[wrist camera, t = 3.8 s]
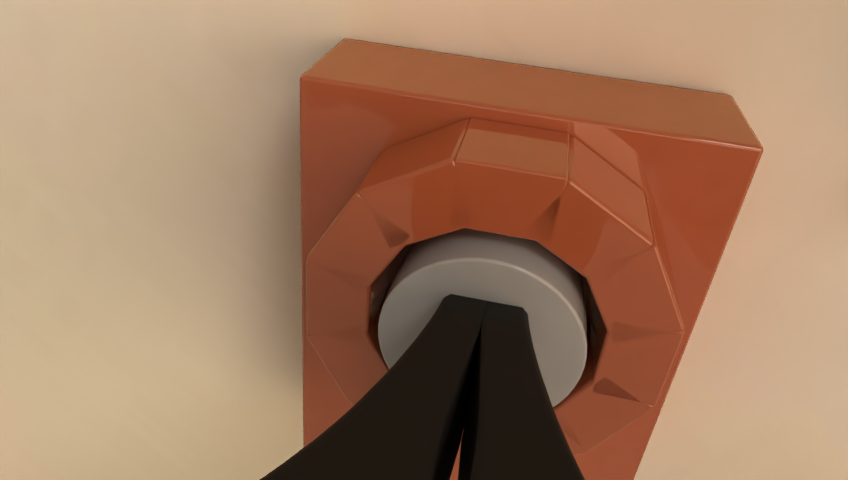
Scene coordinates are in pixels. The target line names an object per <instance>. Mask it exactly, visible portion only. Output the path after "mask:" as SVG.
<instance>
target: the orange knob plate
mask: <svg viewBox="0 0 848 480" xmlns="http://www.w3.org/2000/svg"><path fill="white" fill-rule="evenodd" d="M762 153H763V147H762V145H761V143H760V142H759V140H758V139H757V137H756V135H755V134H754V132H753V130H752V129H751V127H750V125H749V124H748V122H747V120H746V119H745V117H744V115H743V114H742V112H741V110H740V109H739V107H738V105H737V104H736V102H735V100H734V99H733V97H732V96H730V95H723V94H717V93H710V92H703V91H696V90H690V89H683V88H676V87H669V86H662V85H656V84H649V83H642V82H635V81H629V80H622V79H615V78H608V77H601V76H595V75H588V74H581V73H574V72H568V71H561V70H554V69H547V68H540V67H534V66H527V65H520V64H513V63H507V62H500V61H493V60H486V59H479V58H473V57H466V56H459V55H452V54H446V53H439V52H432V51H425V50H419V49H412V48H405V47H398V46H391V45H385V44H378V43H371V42H364V41H358V40H351V39H343V40H342V41H341V42H340V43H338V44H337V45H336V46H335V47H334V48H333V49H331V50H330V51H329V52H328V53H327V54H326V55H324V56H323V57H322V58H321V59H320V60H319V61H317V62H316V63H315V64H314V65H313V66H312V67H310V68H309V69H308V70H307V71H306V72H305V73H303V74H302V75H301V77H300V154H301V249H302V343H303V437H304V447H305V446H307V445H308V444H309V443H311V442H312V441H313V440H315V439H316V438H317V437H318V436H320V435H321V434H322V433H323V432H324V431H325V430H327V429H328V428H329V427H330V426H331V425H333V424H334V423H335V422H336V421H337V420H338V419H340V418H341V417H342V416H343V415H344V414H345V413H346V412H347V411H348V410H350V409H351V408H352V407H353V406H354V405H355V404H356V403H357V402H358V401H359V400H360V399H361V398H362V397H363V396H364V395H365V394H366V393H367V392H368V391H369V390H370V389H371V388H372V387H373V386H374V385H375V384H376V383H377V382H378V381H379V380H380V379H381V378H382V377H383V376H384V375H385V374H386V373H387V372H388V371H389V370H390V369H389V368H388V366H387V364H386V362H385V360H384V358H383V355H382V352H381V349H380V344H379V339H378V322H379V315H380V312H381V309H382V306H383V303H384V301H385V299H386V296H387V294H388V291H389V289H390V287H391V284H392V282H393V279H394V277H395V275H396V272H397V270H398V267H399V265H400V263H401V260H402V258H403V255H404V253H405V251H406V248H407V246H408V245H409V244H413V243H416V242H419V241H423V240H426V239H429V238H433V237H436V236H439V235H443V234H446V233H449V232H453V231H456V230H459V229H463V228H467V229H473V230H478V231H484V232H489V233H495V234H501V235H506V236H512V237H517V238H523V239H529V240H534V241H537V242H538V243H540V244H541V245H542V246H544V247H545V248H546V249H548V250H549V251H550V252H552V253H553V254H554V255H556V256H557V257H558V258H560V259H561V260H562V261H564V262H565V263H566V264H568V265H569V266H570V267H572V268H573V269H574V270H576V271H577V272H579V273H580V274H581V275H583V276H584V277H585V278H586V301H587V359H586V364H585V368H584V371H583V373H582V376H581V378H580V379H579V381H578V383H577V385H576V386H575V388H574V389H573V390H572V391H571V392H570V394H569V395H568V396H567V397H566V398H565V399H563V400H562V401H561V402H560V403H559V404H557V405H556V406H554V407H553V409H554V411H555V414H556V417H557V419H558V422H559V424H560V426H561V429H562V431H563V433H564V436H565V438H566V440H567V443H568V445H569V447H570V449H571V452H572V454H573V456H574V458H575V460H576V462H577V464H578V466H579V468H580V470H581V473H582V475H583V477H584V478H585V480H633V479H634V477H635V474H636V472H637V469H638V467H639V464H640V462H641V459H642V457H643V454H644V451H645V449H646V446H647V444H648V441H649V439H650V436H651V434H652V431H653V429H654V426H655V424H656V421H657V419H658V416H659V414H660V411H661V408H662V406H663V403H664V401H665V398H666V396H667V393H668V391H669V388H670V386H671V383H672V381H673V378H674V376H675V373H676V370H677V368H678V365H679V363H680V360H681V358H682V355H683V353H684V350H685V348H686V345H687V343H688V340H689V338H690V335H691V333H692V330H693V327H694V325H695V322H696V320H697V317H698V315H699V312H700V310H701V307H702V305H703V302H704V300H705V297H706V295H707V292H708V289H709V287H710V284H711V282H712V279H713V277H714V274H715V272H716V269H717V267H718V264H719V262H720V259H721V257H722V254H723V252H724V249H725V246H726V244H727V241H728V239H729V236H730V234H731V231H732V229H733V226H734V224H735V221H736V219H737V216H738V214H739V211H740V209H741V206H742V203H743V201H744V198H745V196H746V193H747V191H748V188H749V186H750V183H751V181H752V178H753V176H754V173H755V171H756V168H757V165H758V163H759V160H760V158H761V155H762ZM462 434H463V433H462ZM461 440H462V438H461ZM460 448H461V443H460V447H459V450H458V453H457V457H456V460H455V464H454V467H453V470H452V474H451V477H450V480H458V471H459V460H460Z"/></svg>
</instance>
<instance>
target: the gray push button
mask: <svg viewBox="0 0 848 480" xmlns="http://www.w3.org/2000/svg"><path fill="white" fill-rule="evenodd" d="M449 294H455V295H460V296H465V297H470V298H476V299H481V300H486V301H491V302H497V303H502V304H507V305H513V306H518V307H523V308H524V310H525V311H526V312H527V314H528V320H529V327H530V333H531V338H532V342H533V347H534V350H535V354H536V358H537V362H538V365H539V368H540V372H541V375H542V378H543V381H544V384H545V386H546V389H547V392H548V395H549V398H550V401H551V404H552V406H553V407H554V406H556V405H557V404H559V403H560V402H561V401H562V400H563V399H565V398H566V397H567V396H568V395H569V394H570V392H571V391H572V390H573V389H574V388H575V386H576V385H577V383H578V381H579V379H580V378H581V376H582V373H583V371H584V368H585V364H586V359H587V301H586V278H585V277H584V276H583V275H581V274H580V273H579V272H577V271H576V270H574V269H573V268H572V267H570V266H569V265H568V264H566V263H565V262H564V261H562V260H561V259H560V258H558V257H557V256H556V255H554V254H553V253H552V252H550V251H549V250H548V249H546V248H545V247H544V246H542V245H541V244H540V243H538V242H537V241H534V240H529V239H523V238H517V237H512V236H506V235H501V234H495V233H489V232H484V231H478V230H473V229H467V228H463V229H459V230H456V231H453V232H449V233H446V234H443V235H439V236H436V237H433V238H429V239H426V240H423V241H419V242H416V243H413V244H409V245H408V246H407V248H406V251H405V253H404V255H403V258H402V260H401V263H400V265H399V267H398V270H397V272H396V275H395V277H394V279H393V282H392V284H391V287H390V289H389V291H388V294H387V296H386V299H385V301H384V303H383V306H382V309H381V312H380V315H379V322H378V339H379V344H380V349H381V352H382V355H383V358H384V360H385V362H386V364H387V366H388V368H389V369H391V367H392V366H393V365H394V364H395V363H396V362H397V361H398V359H399V358H400V357H401V356H402V355H403V353H404V352H405V351H406V350H407V349H408V348H409V346H410V345H411V344H412V343H413V342H414V341H415V339H416V338H417V337H418V335H419V334H420V333H421V331H422V330H423V329H424V327H425V326H426V325H427V323H428V322H429V321H430V319H431V318H432V316H433V315H434V313H435V312H436V310H437V309H438V307H439V305H440V303H441V302H442V300H443V298H444V297H446V296H448V295H449ZM485 306H486V305H485Z"/></svg>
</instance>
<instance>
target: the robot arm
mask: <svg viewBox="0 0 848 480" xmlns="http://www.w3.org/2000/svg"><path fill="white" fill-rule="evenodd" d="M485 305H486V306H485ZM462 433H463V434H462ZM461 438H462V440H461ZM460 443H461V448H460V460H459V471H458V480H585V478H584V477H583V475H582V473H581V470H580V468H579V466H578V464H577V462H576V460H575V458H574V456H573V454H572V452H571V449H570V447H569V445H568V443H567V440H566V438H565V436H564V433H563V431H562V429H561V426H560V424H559V422H558V419H557V417H556V414H555V411H554V409H553V406H552V404H551V401H550V398H549V395H548V392H547V389H546V386H545V384H544V381H543V378H542V375H541V372H540V368H539V365H538V362H537V358H536V354H535V350H534V347H533V342H532V338H531V333H530V327H529V320H528V314H527V312H526V311H525V310H524V308H523V307H518V306H513V305H507V304H502V303H497V302H491V301H486V300H481V299H476V298H470V297H465V296H460V295H455V294H449V295H448V296H446V297H444V298H443V300H442V302H441V303H440V305H439V307H438V309H437V310H436V312H435V313H434V315H433V316H432V318H431V319H430V321H429V322H428V323H427V325H426V326H425V327H424V329H423V330H422V331H421V333H420V334H419V335H418V337H417V338H416V339H415V341H414V342H413V343H412V344H411V345H410V346H409V348H408V349H407V350H406V351H405V352H404V353H403V355H402V356H401V357H400V358H399V359H398V361H397V362H396V363H395V364H394V365H393V366H392V367H391V369H390V370H389V371H388V372H387V373H386V374H385V375H384V376H383V377H382V378H381V379H380V380H379V381H378V382H377V383H376V384H375V385H374V386H373V387H372V388H371V389H370V390H369V391H368V392H367V393H366V394H365V395H364V396H363V397H362V398H361V399H360V400H359V401H358V402H357V403H356V404H355V405H354V406H353V407H352V408H351V409H350V410H348V411H347V412H346V413H345V414H344V415H343V416H342V417H341V418H340V419H338V420H337V421H336V422H335V423H334V424H333V425H331V426H330V427H329V428H328V429H327V430H325V431H324V432H323V433H322V434H321V435H320V436H318V437H317V438H316V439H315V440H313V441H312V442H311V443H309V444H308V445H307V446H305V447H304V448H303V449H301V450H300V451H299V452H298V453H296V454H295V455H294V456H292V457H291V458H290V459H288V460H287V461H286V462H284V463H283V464H282V465H280V466H279V467H277V468H276V469H275V470H273V471H272V472H270V473H269V474H267V475H266V476H265V477H263V478H262V479H260V480H450V477H451V474H452V470H453V467H454V464H455V460H456V457H457V453H458V450H459V447H460Z"/></svg>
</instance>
